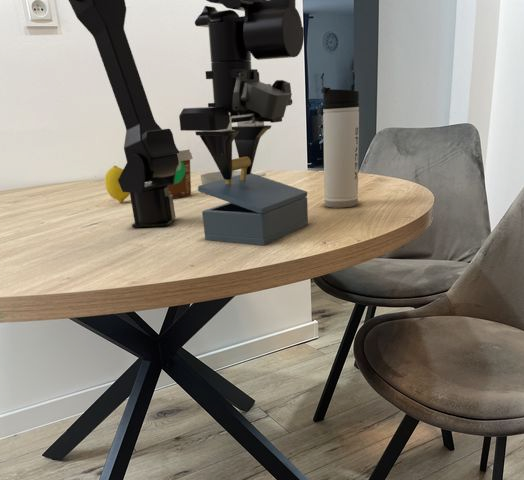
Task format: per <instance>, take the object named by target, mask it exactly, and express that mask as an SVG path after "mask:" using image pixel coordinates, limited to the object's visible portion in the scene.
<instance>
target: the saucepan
mask: <svg viewBox="0 0 524 480" xmlns="http://www.w3.org/2000/svg"><path fill="white" fill-rule="evenodd" d="M254 174H255V175H258V176H262V177H265V176H266V175H267V174H266V173H265V172H264V173H263V172H262V173H254ZM238 175H241V170H234V171H233V173H232V177H234V176H238ZM199 177H200V181H201V185H203V184H207V183H211V182H215V181H219V180H223V179H224V178H223V176H222V174H221V172H220V171H214V172H207V173H203V174H200V175H199Z"/></svg>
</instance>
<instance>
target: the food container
mask: <svg viewBox="0 0 524 480" xmlns="http://www.w3.org/2000/svg"><path fill="white" fill-rule="evenodd" d="M177 156H178V160H179V165H178V166H177V169H176V174H175V182H174V185H168V188H169V195H170V194H171V195H172V196H173V200H174V199H182V198H186V197H190V196H192V185H191V184H192V179H191V176H192V175H191V160H193V156H192V152H191V150H190V149H184V150H179V153H177ZM149 182H150V181H149Z"/></svg>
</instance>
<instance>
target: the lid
mask: <svg viewBox="0 0 524 480" xmlns="http://www.w3.org/2000/svg"><path fill="white" fill-rule="evenodd" d="M250 164H251V160H250V158H249V157H241V158H239V157H237V158H232V173H233V171H239V170H240V171H241V175H238V176H234V177H232V174H231V179H230V180H225V179H223V180H219V181H215V182H211V183H207V184H200V185H198V186H197V191H198V192H200V193H202V194H205V195H208V196H211V197H213V198H217V199H219V200H221V201H224V202H226V203H229V202H230V203H233V204H235V205H238V206H241V207H243V208H246V209H249V210H252V211H254V212H257V213H260V214H262V213H265V212H268V211H270V210H273V209H275V208H278V207H281V206H283V205H286V204H288V203H291V202H294V201H296V200H299V199H302V198H304V197H307V196H308V193H309V192H308V191H306V190H304V189H300V188H297V187H295V186H292V185H288V184H285V183H283V182H279V181H276V180H274V179H270V178H268V177H265V176H258V175H255V174H256V173H253V172H251V174H249V175H246V174H247V167H249V166H250ZM307 198H308V197H307Z"/></svg>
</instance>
